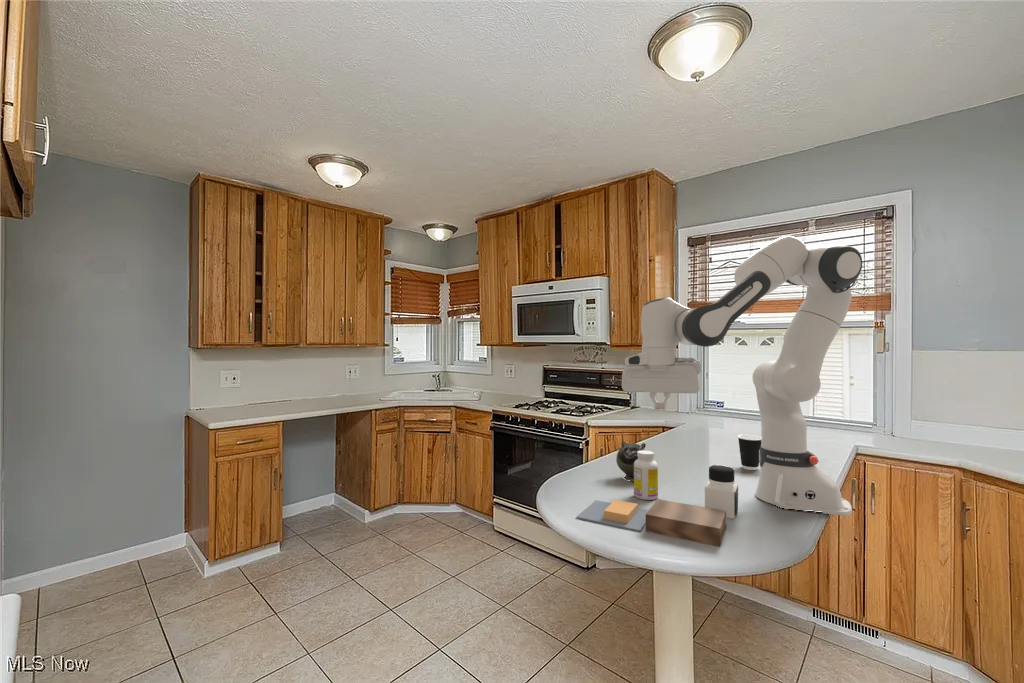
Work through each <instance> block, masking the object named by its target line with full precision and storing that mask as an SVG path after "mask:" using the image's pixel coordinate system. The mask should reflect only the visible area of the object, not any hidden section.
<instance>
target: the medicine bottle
mask: <svg viewBox="0 0 1024 683" xmlns="http://www.w3.org/2000/svg"><path fill="white" fill-rule="evenodd" d="M704 507H707V508H712V509H718V510H724V511H726V519H729V518H731V519H730V520H735V519H736V517H737V514H738V512H739V485H738V483H735V469H734V468H733V467H731V466H727V465H725V464H713V465H710V466H709V467H708V482H707V483H706V484H705V486H704Z"/></svg>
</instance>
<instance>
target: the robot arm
mask: <svg viewBox="0 0 1024 683" xmlns="http://www.w3.org/2000/svg"><path fill="white" fill-rule="evenodd" d="M862 268H863V257H862V255H861V252H860V250H858V249H857V248H855V247H853V246H849V245H845V244H835V245H833V244H832V245H831V244H830V245H828V244H827V245H825V244H824V245H822V244H821V245H815V246H806V244H805V243H804V241H802V240H801V239H800V238H798V237H795V236H792V235H785V236H781V237H779V238H777V239H775V240H773V241H771V242H770V243H767V244H766V245H764V246H762V247H760V249H758V250H756V251H754V253H753V254H751V255H750V256H749V257H747V258H746V259H745V260H744V261H743V262H741V264H740V265H738V267H737V268H736V269H735V271H734V282H735V285H734V286H733V287H732V288H731V289H730V290H729V291H728V292H726V293H725V294H724V295H722V296H721V297H719V299H717V301H715V302H713V303H711V304H707V305H702V306H699V307H696V308H690V307H687V306H684V305H682V304H680V303H678V302H676V301H675V300H674V299H673V298H671V297H669V296H667V297H660V298H656V299H652V300H650V301H649V300H648V301H647V302H645V303H644V305H643V306H642V308H641V317H640V318H641V320H640V323H641V324H640V325H641V326H640V327H641V328H640V329H641V330H640V331H641V335H642V343H641V352H638V353H635V354H633V355H631V356H627V357H625V358H624V364H625V365H626V366H624V368H623V369H622V374H621V388H622V390H623V391H624V392H627V393H628V392H629V393H631V392H632V393H649V397H650V399H651V400H652V402H653V403H654V406H653V408H654V410H661V411H664V410H667V408H668V406H667V405H668V402H669V400H670V398H671V397H672V395H671V394H693V395H694V394H698V393H699V392H700V391H701V380H700V373H701V372H702V364H701V363H700V361H699V360H698V359H695V357H688V358H687V357H677V343H679V344H682V345H686V346H687V345H688V346H697V347H698V346H699V347H703V348H705V347H707V348H708V347H712V346H715V345H717V344H718V343H720V342H721V341H722V340H723V339H724V338H725V336H726V335H727V333H728V331H729V330H730V327H731V326H732V324H733V323H734V322H735V321H736V320H737V319H738V318H739V317H740V316H742V315H743V314H744V313H745V312H746V311H747V310H749V309H750V308H751V307H752V306H754V305H755V304H756V303H757V302H758V301H759V300H760V299H762V298H763V297H765V296H767V295H769V294H770V293H772V292H773V291H775V290H776V289H777V288H779V287H780V286H782V285H783V284H785V283H787V284H790V285H793V286H796V287H797V286H803V287H806V295H805V299H804V300H803V302H802V303H801V304H800V306H799V308H798V309H797V310H796V313H795V314H794V316H793V318H792V320H791V322H790V324H788V327H787V329H786V330H785V333H784V334H783V338H782V340H783V343H782V347H781V351H780V354H779V357H778V358H777V360H774V359H773V360H768V361H765V362H763V363H760V364H759V365H758V366H756V367H755V369H754V370H753V373H752V382H753V384H754V387H755V393H756V399H757V404H758V409H759V413H760V415H759V416H760V424H761V425H760V427H761V429H760V431H761V434H760V437H761V446H760V450H759V467H760V469H759V470H760V471H759V477H758V483H757V487H756V490H755V493H754V495H755V497H756V498H758V500H761V501H763V502H765V503H769V504H771V505H774V506H775V505H776V506H775V507H777V506H778V508H779V507H780V508H779V509H782V508H784V509H783V510H788V509H796V510H795V511H797V510H813V511H822V512H823V513H822V514H825V515H827V514H828V515H834V516H835V515H836V516H850V515H851V514H852V513H853V509H852V505H851V503H850V502H849V501H848V500H847V499H845V498H843V496H842V494H841V490H840V486H839V485H838V483H837V481H835V479H834V478H832V477H831V476H829V475H828V474H827V473H826V472H824V471H823V470H822V469H820V468H819V467H818V466H816V465H817V464H818V463H819V458H818V456H816V455H815V454H814V453H813V452H810V451H809V450H808V449H807V448H808V446H807V445H808V438H807V437H808V436H807V435H808V434H807V433H808V429H807V427H808V425H807V421H806V419H805V417H804V415H803V411H802V408H801V404H800V403H803V402H807V401H810V400H812V399H814V398H815V397H817V395H818V393H819V392H820V389H821V379H820V376H821V370H822V367H823V363H824V360H825V358H826V355H827V352H828V349H829V348H830V347H831V344H832V343H833V341H834V339H835V337H836V336H837V334H838V332H839V330H840V329H841V327H842V324H843V323H844V320H845V318H846V316H847V314H848V311H849V309H850V307H851V303H852V299H853V294H852V292H851V290H850V289H851V288H852V287H853V286H854V285H855V284H856V281H857V280H858V278H859V276H860V275H861V272H862ZM657 393H661V394H663V397H665V399H664V401H663V402H662V401H661V402H660V401H658V400H657V398H656V397H657V396H658V394H657Z"/></svg>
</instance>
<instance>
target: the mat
mask: <svg viewBox="0 0 1024 683" xmlns="http://www.w3.org/2000/svg"><path fill="white" fill-rule="evenodd" d="M611 503H612V502H608V501H604V500H603V501H602V500H597V499H596V500H594V501H593V502H592V503H591V504H589V505H588V506H587V507H586V508H585V509H583V510H582V511H581V512H580V513H579V514H578V515H577V516H575V517H576V519H577V518H578V520H582V521H588V522H591V523H597V524H601V525H606V526H610V527H615V528H620V529H624V530H629V531H635V532H639V533H641V532H642V530H643V529H644V528H645V527H646V513H647V512H648V511H649V509H645V508H641V507H640V508H639V507H638V512H637V513H636V514H635V516H634V517H633V518H632V519H631V520H630V522H629V523H623V522H618V521H613V520H608V519H604V510H605V509H606V508H607V507H608V506H609V505H610V504H611Z"/></svg>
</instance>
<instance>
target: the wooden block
mask: <svg viewBox="0 0 1024 683" xmlns="http://www.w3.org/2000/svg"><path fill="white" fill-rule="evenodd" d="M655 500H656V501H655V502H654V503H653V504H652V506H650V508H649V509H648V510H649V511H648V512H647V513H646V525H645V532H646V533H647V532H648V533H652V534H656V535H661V536H666V537H672V538H675V539H680V540H685V541H688V542H689V541H690V542H695V543H699V544H704V545H709V546H714V547H719V548H721V546H722V544H723V543H722V542H723V540H724V536H725V532H726V530H727V518H726V511H724V510H718V509H712V508H707V507H705V506H702V505H701V506H700V505H695V504H694V505H693V504H689V503H683V502H677V501H671V500H665V499H661V498H660V499H659V498H656V499H655Z"/></svg>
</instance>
